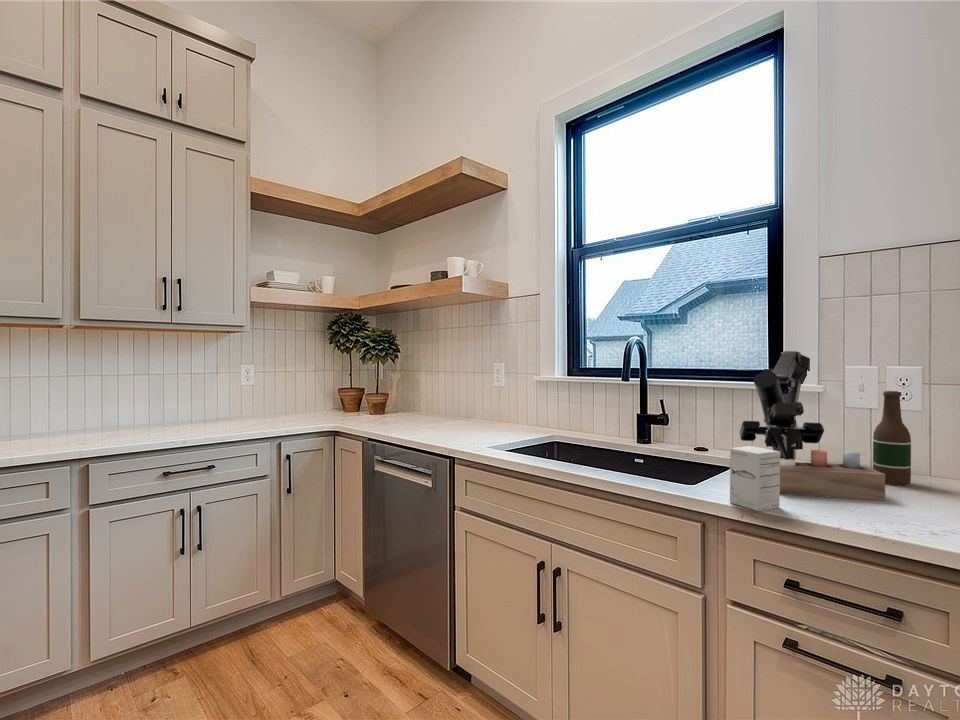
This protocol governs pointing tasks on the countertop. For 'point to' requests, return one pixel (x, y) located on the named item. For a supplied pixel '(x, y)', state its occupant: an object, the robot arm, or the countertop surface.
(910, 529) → the countertop surface
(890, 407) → the beer bottle
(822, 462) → the brick key
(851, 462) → the grey rounded block
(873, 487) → the wooden socket block
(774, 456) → the supplement box
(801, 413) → the robot arm
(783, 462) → the white key
